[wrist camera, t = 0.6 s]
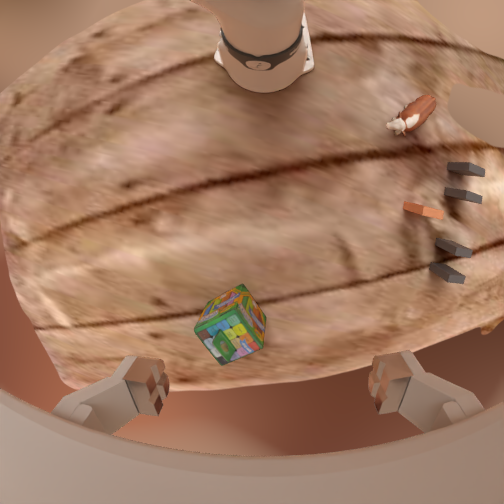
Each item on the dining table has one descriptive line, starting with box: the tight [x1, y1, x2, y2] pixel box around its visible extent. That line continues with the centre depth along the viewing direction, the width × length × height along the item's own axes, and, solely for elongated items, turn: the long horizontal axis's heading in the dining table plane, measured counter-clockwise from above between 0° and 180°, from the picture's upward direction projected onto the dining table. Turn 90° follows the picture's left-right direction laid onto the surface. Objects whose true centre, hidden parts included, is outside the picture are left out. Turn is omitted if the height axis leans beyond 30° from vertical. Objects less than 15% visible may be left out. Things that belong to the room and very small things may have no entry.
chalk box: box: [194, 284, 266, 366], centre depth 50 cm, size 9×9×15 cm
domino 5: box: [429, 262, 466, 284], centre depth 48 cm, size 2×5×8 cm, turn 84°
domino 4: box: [435, 238, 472, 258], centre depth 47 cm, size 2×5×8 cm, turn 84°
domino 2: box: [447, 162, 485, 177], centre depth 42 cm, size 2×5×8 cm, turn 84°
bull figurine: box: [386, 95, 436, 137], centre depth 41 cm, size 4×14×8 cm, turn 128°
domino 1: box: [403, 201, 444, 220], centre depth 45 cm, size 2×5×8 cm, turn 84°
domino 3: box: [444, 187, 482, 204], centre depth 44 cm, size 2×5×8 cm, turn 84°
